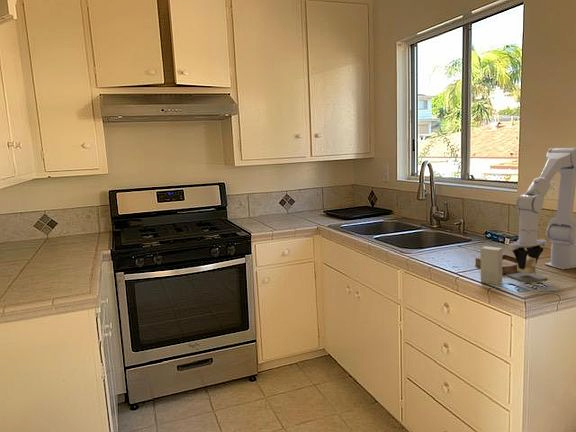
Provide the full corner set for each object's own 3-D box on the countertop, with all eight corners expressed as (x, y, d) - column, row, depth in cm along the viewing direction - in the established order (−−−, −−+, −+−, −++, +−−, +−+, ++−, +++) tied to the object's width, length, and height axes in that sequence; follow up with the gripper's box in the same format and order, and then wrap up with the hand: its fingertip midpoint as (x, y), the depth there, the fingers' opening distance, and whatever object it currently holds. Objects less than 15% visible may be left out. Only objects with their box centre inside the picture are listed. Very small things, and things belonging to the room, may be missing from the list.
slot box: (505, 261, 179) (505, 253, 178) (533, 270, 165) (533, 262, 165) (475, 265, 175) (475, 258, 174) (501, 275, 162) (502, 267, 161)
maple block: (526, 269, 160) (526, 255, 159) (535, 272, 156) (535, 258, 155) (516, 271, 158) (517, 257, 158) (525, 274, 155) (526, 259, 154)
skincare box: (502, 282, 154) (503, 247, 152) (498, 285, 151) (499, 250, 149) (484, 279, 158) (485, 245, 156) (479, 282, 155) (480, 248, 153)
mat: (526, 272, 163) (526, 271, 163) (547, 279, 154) (547, 278, 154) (506, 276, 160) (506, 274, 160) (526, 283, 152) (526, 281, 152)
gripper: (536, 225, 160) (534, 262, 162) (502, 229, 156) (501, 267, 158) (552, 228, 154) (550, 267, 156) (517, 233, 150) (516, 272, 152)
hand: (526, 267), depth 157 cm, fingers closed on maple block, 4 cm apart
